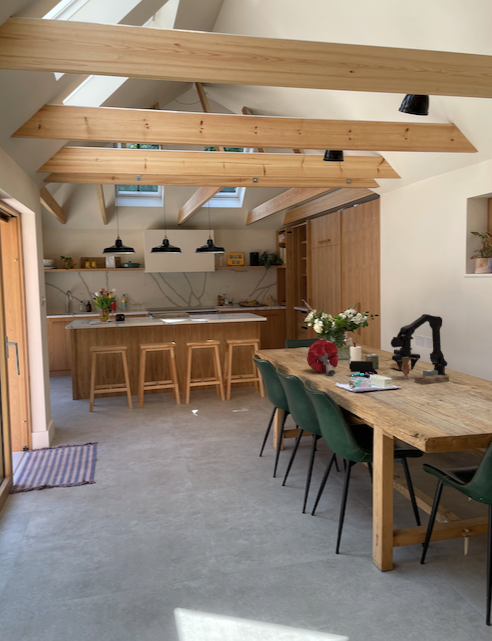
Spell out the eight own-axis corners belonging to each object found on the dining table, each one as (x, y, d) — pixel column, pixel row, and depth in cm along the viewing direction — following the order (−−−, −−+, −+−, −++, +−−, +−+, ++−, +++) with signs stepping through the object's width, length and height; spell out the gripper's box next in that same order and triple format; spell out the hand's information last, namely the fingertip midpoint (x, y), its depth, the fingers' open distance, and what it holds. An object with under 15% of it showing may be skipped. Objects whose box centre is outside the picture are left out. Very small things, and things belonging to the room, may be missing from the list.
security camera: (377, 377, 338) (377, 362, 337) (349, 376, 341) (349, 362, 340) (377, 375, 344) (377, 360, 344) (349, 374, 348) (349, 360, 347)
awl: (406, 377, 334) (406, 364, 333) (410, 378, 330) (410, 365, 330) (401, 378, 333) (401, 364, 332) (405, 379, 329) (405, 365, 328)
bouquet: (345, 383, 353) (331, 356, 377) (349, 356, 340) (334, 330, 364) (315, 387, 350) (303, 359, 374) (318, 360, 336) (305, 334, 360)
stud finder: (433, 377, 335) (433, 369, 334) (437, 378, 330) (437, 370, 330) (422, 378, 332) (422, 370, 332) (427, 379, 328) (427, 371, 327)
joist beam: (440, 379, 327) (441, 374, 326) (448, 381, 320) (448, 376, 320) (414, 382, 319) (414, 377, 319) (422, 384, 313) (422, 379, 312)
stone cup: (414, 370, 358) (414, 349, 357) (399, 371, 356) (399, 350, 354) (403, 367, 373) (404, 347, 371) (388, 368, 370) (388, 347, 369)
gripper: (409, 344, 341) (409, 367, 342) (386, 346, 334) (386, 369, 335) (421, 346, 330) (420, 369, 331) (397, 348, 323) (397, 372, 325)
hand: (406, 370), depth 331 cm, fingers open, 9 cm apart
